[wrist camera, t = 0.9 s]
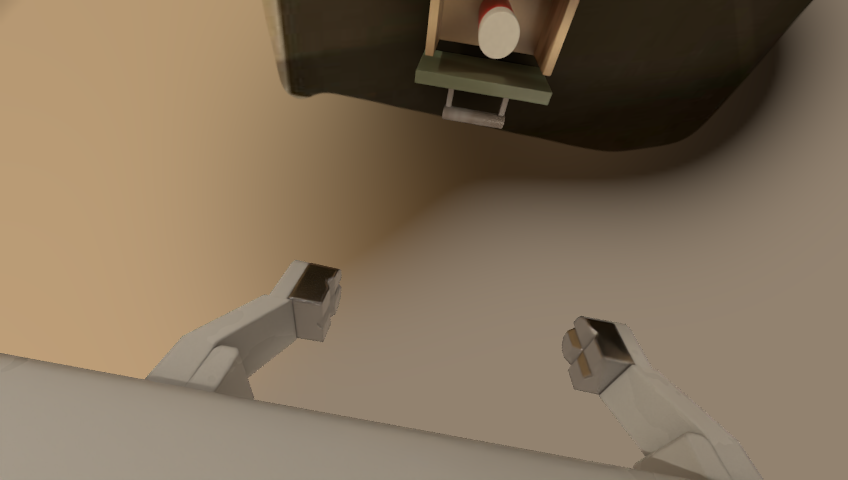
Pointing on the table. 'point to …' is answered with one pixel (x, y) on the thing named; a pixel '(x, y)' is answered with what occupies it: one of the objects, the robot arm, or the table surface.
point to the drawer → (458, 22)
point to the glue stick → (497, 28)
